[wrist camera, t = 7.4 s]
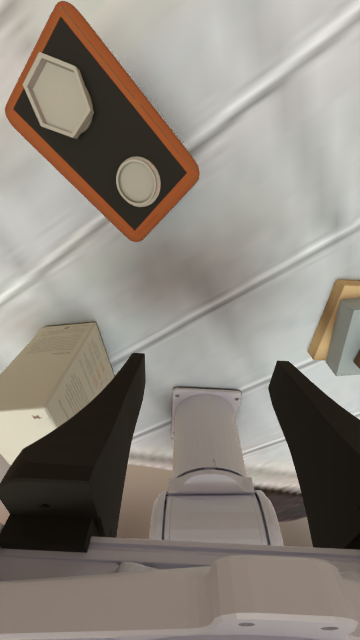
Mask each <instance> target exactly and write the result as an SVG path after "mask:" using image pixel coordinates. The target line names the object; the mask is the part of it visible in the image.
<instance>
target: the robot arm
mask: <svg viewBox="0 0 360 640" xmlns="http://www.w3.org/2000/svg"><path fill="white" fill-rule="evenodd" d="M144 388H145V354H142V353H133V354H132V355H131V356H130V357H129V359H128V360H127V362H126V363H125V364H124V366H123V367H122V368H121V370H120V371H119V372H118V373H117V374H116V376H115V377H114V378H113V379H112V380H111V382H110V383H109V384H108V385H107V386H106V387H105V388H104V389H103V390H102V391H101V392H100V393H99V394H98V395H97V396H96V397H95V398H94V399H93V400H92V401H91V402H90V403H89V404H87V405H86V406H85V407H84V408H83V409H81V410H80V411H79V412H78V413H77V414H75V415H74V416H73V417H72V418H70V419H69V420H67V421H66V422H65V423H63V424H62V425H60V426H59V427H58V428H56V429H55V430H53V431H52V432H50V433H49V434H47V435H46V436H44V437H42V438H41V439H39V440H37V441H35V442H34V443H32V444H30V445H29V446H27V447H25V448H23V449H22V451H21V452H20V454H19V455H18V456H17V457H16V459H15V460H14V462H13V463H12V465H11V467H10V468H9V470H8V471H7V473H6V475H5V476H4V478H3V479H2V481H1V483H0V500H1V501H2V503H3V504H4V506H5V507H6V509H7V510H8V511H9V513H10V516H9V518H8V519H7V521H6V524H5V525H3V524H2V523H0V640H360V420H359V419H358V418H356V417H355V416H353V415H352V414H350V413H349V412H348V411H346V410H345V409H344V408H342V407H341V406H340V405H338V404H337V403H336V402H335V401H333V400H332V399H331V398H330V397H328V396H327V395H326V394H325V393H324V392H322V391H321V390H320V389H319V388H318V387H317V386H316V385H314V384H313V383H312V382H311V381H310V380H309V379H308V378H307V377H306V376H304V375H303V374H302V373H301V372H300V371H299V370H298V369H297V368H296V367H295V366H293V365H292V364H291V363H290V362H289V361H277V363H276V366H275V369H274V372H273V375H272V378H271V381H270V384H269V387H268V389H269V393H270V397H271V401H272V405H273V408H274V411H275V413H276V416H277V418H278V421H279V424H280V426H281V429H282V431H283V434H284V436H285V439H286V441H287V444H288V447H289V449H290V452H291V455H292V459H293V463H294V466H295V470H296V473H297V477H298V481H299V485H300V489H301V493H302V497H303V501H304V506H305V510H306V514H307V518H308V523H309V529H310V534H311V539H312V544H313V547H294V546H283V540H282V536H281V532H280V527H279V524H278V520H277V517H276V513H275V511H274V508H273V506H272V503H271V502H270V500H269V499H268V498H267V497H266V496H265V495H264V493H263V492H262V491H260V490H255V491H254V487H253V482H252V478H251V477H247V475H246V470H245V465H244V460H243V455H242V450H241V445H240V440H239V435H238V430H237V425H236V416H237V412H238V408H239V404H240V400H241V396H242V394H241V392H240V391H234V390H215V389H196V388H174V390H173V405H172V425H171V438H172V439H174V452H173V473H172V479H169V487H168V488H169V489H168V491H165V492H164V491H163V492H161V493H160V495H159V496H158V498H157V499H156V500H155V502H154V505H153V510H152V517H151V524H150V535H149V539H133V538H132V539H131V538H116V535H117V528H118V520H119V513H120V507H121V501H122V493H123V488H124V481H125V475H126V469H127V463H128V457H129V452H130V446H131V442H132V437H133V433H134V430H135V426H136V422H137V419H138V415H139V411H140V408H141V404H142V400H143V395H144ZM176 394H178V395H176Z"/></svg>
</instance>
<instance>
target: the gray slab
mask: <svg viewBox="0 0 360 640" xmlns="http://www.w3.org/2000/svg"><path fill="white" fill-rule="evenodd" d="M359 351H360V298H350V299H340V303H339V307H338V311H337V315H336V320H335V324H334V328H333V332H332V337H331V341H330V345H329V350H328V354H327V358H326V363H327V365H328V366H329V367H330V369H331V370H332V371H333V373H334V374H335V375H336V376H344V375H359V374H360V369H359V368H358V367H357V366H356V364H355V363H354V362H353V361H354V360H355V358H356V356H357V354H358V353H359Z"/></svg>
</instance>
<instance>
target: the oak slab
mask: <svg viewBox="0 0 360 640" xmlns="http://www.w3.org/2000/svg"><path fill="white" fill-rule="evenodd" d="M350 298H360V281H354V280H336V282H335V284H334V287H333V289H332V292H331V294H330V297H329V299H328V302H327V304H326V307H325V309H324V312H323V314H322V317H321V319H320V322H319V324H318V327H317V329H316V332H315V334H314V337H313V339H312V342H311V344H310V347H309V349H308V353H309V354H310V356H311V357H312V358H313V360H326V358H327V354H328V350H329V345H330V341H331V337H332V332H333V328H334V324H335V320H336V315H337V311H338V307H339V303H340V299H350Z"/></svg>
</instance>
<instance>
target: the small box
mask: <svg viewBox="0 0 360 640" xmlns="http://www.w3.org/2000/svg"><path fill="white" fill-rule="evenodd" d="M114 377H115V376H114V374H113V371H112V368H111V365H110V362H109V359H108V356H107V354H106V351H105V348H104V345H103V342H102V339H101V336H100V333H99V330H98V328H97V325H96V323H95V322H93V323H82V324H72V325H61V326H49V327H44V328H42V330H41V331H40V332H39V333H38V334H37V335H36V336H35V337H34V338H33V339H32V341H31V342H30V343H29V344H28V345H27V346H26V347H25V348H24V349H23V350H22V352H21V353H20V354H19V355H18V356H17V357H16V358H15V359H14V360H13V361H12V362H11V364H10V365H9V366H8V367H7V368H6V369H5V370H4V371H3V372H2V373H1V375H0V454H1V455H2V456H3V457H4V458H5V459H6V461H7V462H8V463H9V464H10V465H12V463H13V462H14V460H15V459H16V457H17V456H18V455H19V454H20V452H21V451H22V449H23V448H25V447H27V446H29V445H30V444H32V443H34V442H35V441H37V440H39V439H41V438H42V437H44V436H46V435H47V434H49V433H50V432H52V431H53V430H55V429H56V428H58V427H59V426H60V425H62V424H63V423H65V422H66V421H67V420H69V419H70V418H72V417H73V416H74V415H75V414H77V413H78V412H79V411H80V410H81V409H83V408H84V407H85V406H86V405H87V404H89V403H90V402H91V401H92V400H93V399H94V398H95V397H96V396H97V395H98V394H99V393H100V392H101V391H102V390H103V389H104V388H105V387H106V386H107V385H108V384H109V383H110V382H111V380H112V379H113V378H114Z"/></svg>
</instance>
